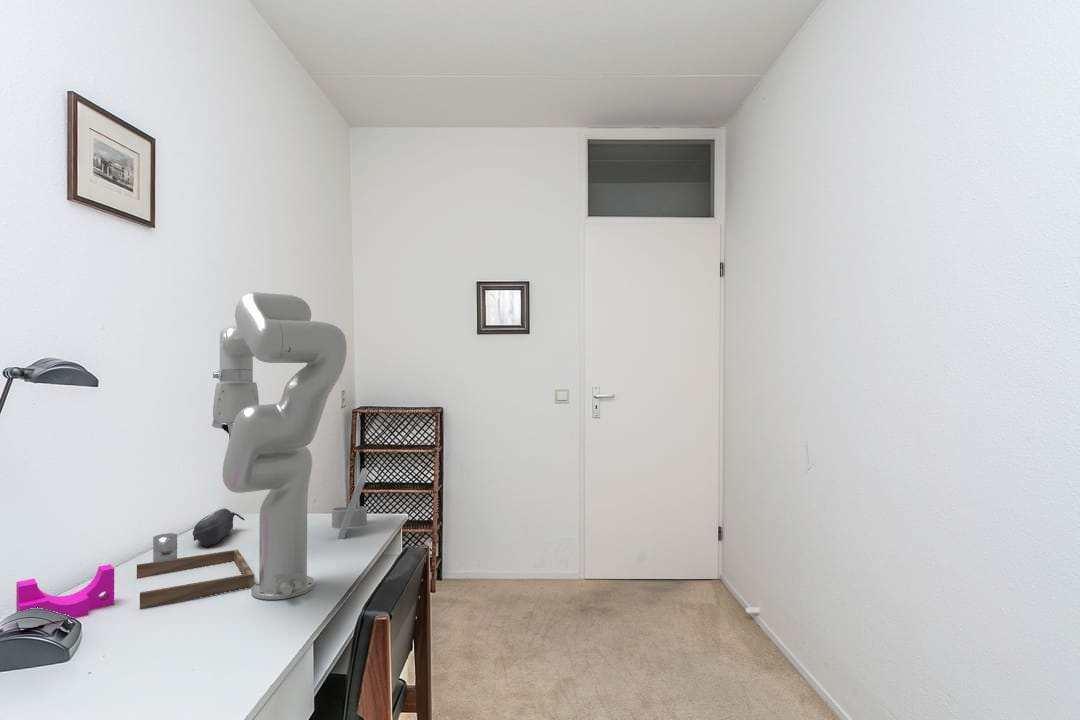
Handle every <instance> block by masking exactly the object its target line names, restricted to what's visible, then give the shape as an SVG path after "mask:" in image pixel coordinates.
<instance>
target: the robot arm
mask: <svg viewBox="0 0 1080 720" xmlns="http://www.w3.org/2000/svg"><path fill="white" fill-rule="evenodd" d="M234 318H235V320H234V321H235V324H236V325H230V326H227V327H225V328H224V327H223V328H222V329H221V330H220V333H219V370H218V371H216V372H213V373H212V378H213V379H218V381H219V382H217V383H216V384H215V388H214V389H215V391H214V395H213V406H212V407H213V408H212V409H213V411H212V413H213V414H212V417H213V420H212V424H211V426H212V427H213V429H214V428H215V429H221V430H223V431H225V432H226V433H227V434H228V444H227V447H226V451H225V456H224V460H223V462H222V463H223V464H222V481H223V484H224V486H225V487H226V489H227V490H229V491H230V492H232V493H239V494H240V493H241V494H243V493H252V492H253V493H254V492H261V491H267V490H269V491H268V493H267V495H266V496H265V498H264V499H263V501H262V503H261V506H260V508H259V509H260V510H259V553H258V554H259V559H258V561H259V562H258V563H259V573H258V574H259V579H258V580H259V581H257V582H256V583H254V585H253V586H252V588H250V590H251V595H252V597H254V598H257V599H260V600H268V601H269V600H270V601H271V600H275V601H276V600H285V599H290V598H291V599H292V598H295V597H299V596H302V595H304V594H307V593H309V592H310V591H312V590H313V589H314V587H315V579H314V578H313V577H312V576H308V497H309V486H310V479H311V473H312V468H313V457H312V453H311V451H310V449H309V448H308V445H310V444H311V443H312V441H313V440H314V438H315V436H316V433H317V431H318V427H319V425H320V422H321V419H322V416H323V412H324V410H325V407H326V404H327V400H328V398H329V395H330V394H331V392H332V390H333V389H334V387H335V385H336V383H337V382H338V380H339V379H340V377H341V375H342V372H343V370H344V368H345V363H346V359H347V353H348V352H347V348H348V346H347V339H346V335H345V334H344V332H343V331H342V329H341V328H339V327H338V326H337V325H334V324H331V323H328V322H323V321H315V320H311V319H312V309H311V307H310V305H309V304H308V302H306V301H305V300H304V299H302V298H301V297H299V296H297V295H293V294H292V295H291V294H285V293H284V294H282V293H281V294H280V293H271V292H270V293H269V292H268V293H267V292H257V291H256V292H255V291H253V292H252V291H251V292H248V293H245V294H244V295H243V296H242V297H240V298H239V300H238V301H237V304H236V306H235V311H234ZM254 358H255V359H256V360H258V361H259V362H262V363H263V362H264V363H267V364H306V365H305V366H304V367H303V368H301V369H300V370H298V371H297V372H296V373H295V374H294V375H293V376H292V377H291V378H290V379H289V380H288V382H287V383H286V384H285V386H284V388H283V392H282V395H281V398H280V400H279V402H276V403H272V404H260V398H259V390H258V385H257V382H254V379H253V378H254Z"/></svg>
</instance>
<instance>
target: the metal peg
mask: <svg viewBox="0 0 1080 720" xmlns="http://www.w3.org/2000/svg"><path fill="white" fill-rule="evenodd" d="M152 539H153V540H152V562H157V561H164V560H171V559H177V558H178V534H177V533H171V532H169V533H162V534H161V533H160V534H157V535H154V536H153V538H152Z"/></svg>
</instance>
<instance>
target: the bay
mask: <svg viewBox="0 0 1080 720" xmlns="http://www.w3.org/2000/svg"><path fill="white" fill-rule="evenodd" d="M232 561H234V562H235V563H234V565H235V566H236V567H238V568H237V570H238V569H239V570H238V571H239V573H240V572H241V573H240V574H239V575H233V576H228V577H224V578H223V577H222V578H216V579H211V580H205V581H204V580H203V581H199V582H194V583H193V582H192V583H187V584H181V585H176V586H169V587H163V588H157V589H153V590H145V591H141V592H139V610H142V609H147V608H152V607H153V608H154V607H159V606H163V605H169V604H174V603H180V602H185V600H186V601H191V600H190V599H192V600H196V599H195V598H197V599H201V598H200V597H203V598H207V597H206V596H208V597H211V596H210V595H213V596H216V595H215V594H218V595H221V594H220V593H223V594H225V593H224V592H228V593H230V592H229V591H233V592H236V591H235V590H238V591H240V590H239V589H243V590H246V589H245V588H248V589H252V588H251V587H252V586H253V585H255V573H254V572H253V570H252V569H251V567H250V566H249V564H248V563H247V561H246V560H245V558H244V557H243V555H242V553H241V552H240V551H239V549H231V550H225V551H218V552H212V553H211V552H210V553H206V554H199V555H191V556H185V557H179V558H178V557H177V559H171V560H164V561H157V562H153V561H152V562H145V563H140V564H136V579H143V578H149V577H150V578H151V577H154V576H155V577H156V576H161V575H167V574H171V573H177V572H183V571H188V569H189V570H194V568H195V569H199V568H205V566H206V567H210V566H211V565H212V566H216V565H217V566H218V565H221V564H222V563H223V564H227V562H228V563H233V562H232ZM223 564H222V565H223ZM241 574H242V575H241Z"/></svg>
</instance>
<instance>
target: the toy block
mask: <svg viewBox="0 0 1080 720" xmlns="http://www.w3.org/2000/svg"><path fill="white" fill-rule="evenodd" d="M15 590H16V593H15V594H16V597H15V598H16V603H15V604H16V607H15V608H16V609H15V610H16V611H15V613H16V612H19V611H23V610H26V609H30V608H37V607H38V608H43V609H48V610H51V611H55V612H58V613H61V614H66V615H69V616H71V617H74V618H73V619H76V618H80V617H85V616H89V615H90V611H93V610H96V609H97V610H98V609H102V608H106V607H110V606H114V605H115V567H114V566H113V565H111V563H110V564H105V565H100V566H99V565H98V568H97V571H96V574H95V576H94V578H93V579H91V581H90V583H88V584H87V585H86V586H85V587H84V588H82V589H80V590H78V591H76V592H74V593H72V594H68V595H59V596H58V595H57V596H56V595H51V594H49V593H46V592H44V591H43V590H41V589H40V588H39V587H38V582H37V581H36V579H35V578H30V579H26V580H20V581H19V580H18V581H16V589H15ZM102 593H104V594H102ZM101 594H102V595H101Z"/></svg>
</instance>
